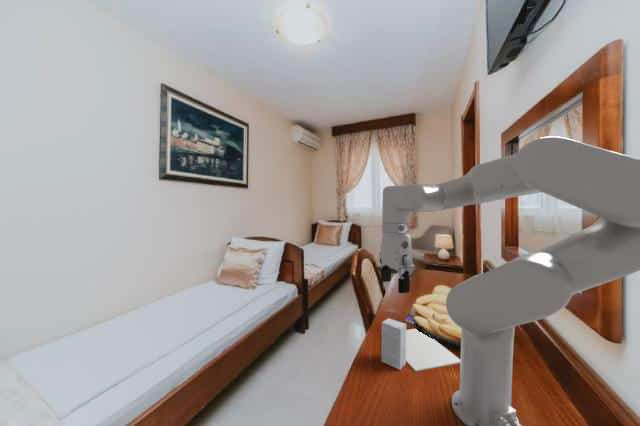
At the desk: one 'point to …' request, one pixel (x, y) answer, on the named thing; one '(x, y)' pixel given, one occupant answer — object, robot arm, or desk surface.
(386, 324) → the skincare box
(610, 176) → the robot arm
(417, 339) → the white mat
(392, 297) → the desk surface
